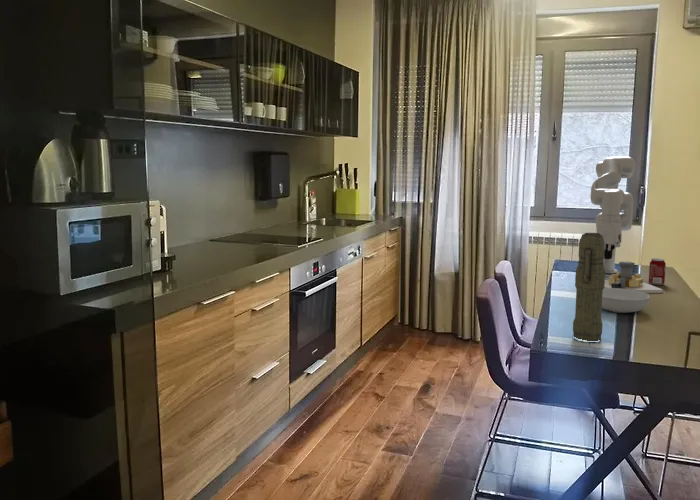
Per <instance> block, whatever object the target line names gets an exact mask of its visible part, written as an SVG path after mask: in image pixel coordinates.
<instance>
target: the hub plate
mask: <svg viewBox="0 0 700 500" xmlns="http://www.w3.org/2000/svg"><path fill="white" fill-rule="evenodd" d="M618 265H619V267H620V271H619V272H620V288H621V289H630V290H635V291H640V292H643V293H646V294H663V292H664V289H662V288H659V287H657V286H656V285H652V284H650V283H647V282H645V281H643V285H642V286H639V287H628V286H627V287H625V279H629V278H630V276H633V269H634V268H633V267H635V262H632V261H619V262H618ZM604 288H612V284H610V283H609V279H605V284H604Z"/></svg>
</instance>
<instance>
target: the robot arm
mask: <svg viewBox="0 0 700 500" xmlns="http://www.w3.org/2000/svg"><path fill="white" fill-rule="evenodd" d="M635 170H636V162H635V159H633V157H631V156H610V157H607V158H605V159H603V161H599V162H598V163H596V165H595V173H596V176H597V178H596V179H595V180H594V181H593V183H592V185H591V187H590V202H591V204H592V205H594V206H599V207H600V209H601V212H599V213H598V214H597V215H596V216H595V228H596V229H595V230H596V233H599V234H600V235H602V236H603V239H604V243H605V246H604V258H603V263H604V265H603V266H604V269H605V274H617V272H619V271H618V269H616V268H615V264H616V248H620V247H621V244H622V236H623V234H622V233H623V231H624V232H627V231H630V230H631V229H632V227H633V217H634V216H633V215H634V197H633V194H632V193H630V192H627V191H624V190H623V189H621V188H620V189H619V184H620V183H621V181H622V179H630V178H632V177H633V175H634V173H635ZM621 211H622V212H621Z"/></svg>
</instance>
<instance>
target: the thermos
mask: <svg viewBox="0 0 700 500" xmlns="http://www.w3.org/2000/svg"><path fill="white" fill-rule="evenodd" d="M604 246H605V243H604V239H603V236H602V235H600V234H599V233H597V232H584V233H582V235H581V236H580V240H579V242H578V261H577V262H578V263H577V266H576V269H575V277H574V278H575V281H574V282H575V284H574V287H575V288H576V289H575V290H576V292H575V293H576V294H575V311H574V312H575V314H574V319H573V321H572V332H573V333H572V334H573V336H574V337H576V338H578V339H582V340H587V341H598V340H601V341H602V334H603V320H602V310H603V308H602V292H603V289H604V284H605V280H606V279H605V278H606V273H605V269H604V266H603V265H604V263H603V258H604ZM573 336H572V337H573Z"/></svg>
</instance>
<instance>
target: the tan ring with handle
mask: <svg viewBox="0 0 700 500" xmlns="http://www.w3.org/2000/svg"><path fill="white" fill-rule="evenodd" d="M610 274H611V275H609V276H608V280H609V283H610V284H612V288H620V271H617V273H610ZM643 282H644V278H643V277H642V275H641V273H634V274H633V275H632V276H630V278H629V279H625V287H627V286H628V287H639V286H642V285H643Z"/></svg>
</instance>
